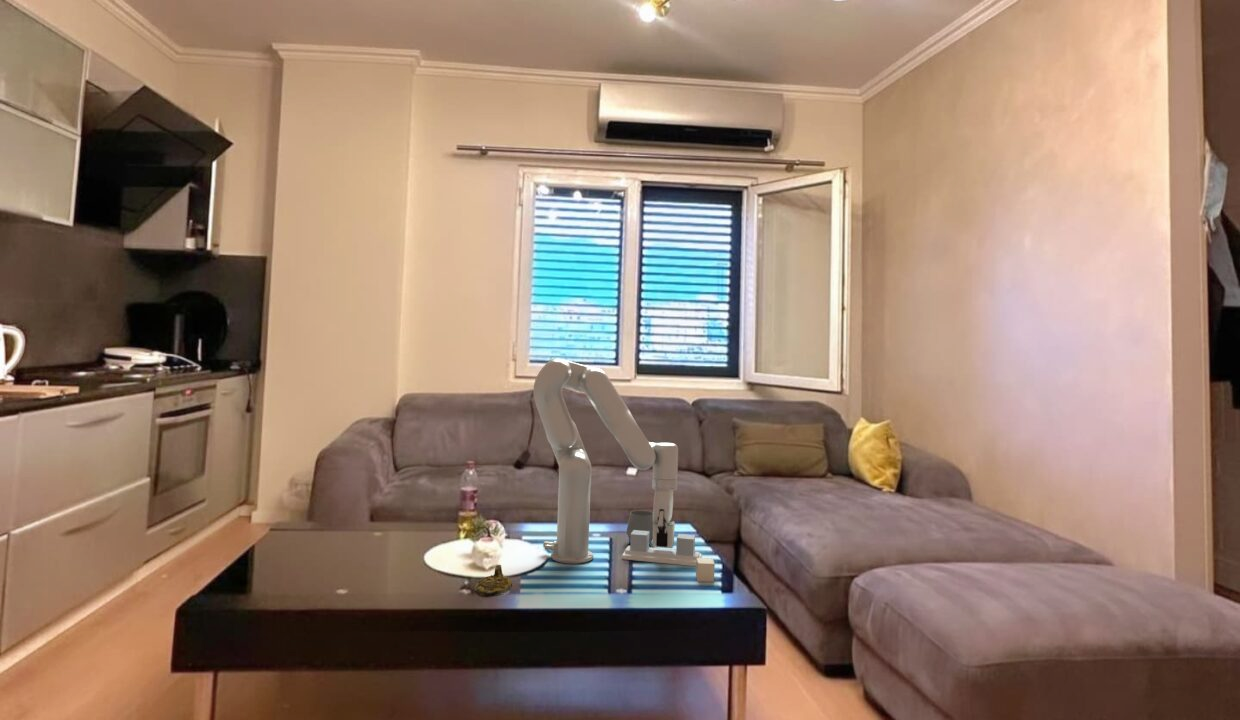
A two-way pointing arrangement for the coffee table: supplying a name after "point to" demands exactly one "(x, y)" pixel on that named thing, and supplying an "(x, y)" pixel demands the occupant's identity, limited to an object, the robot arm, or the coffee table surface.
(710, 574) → the block
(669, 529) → the module
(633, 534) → the rail board
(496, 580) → the seal
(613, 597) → the coffee table surface
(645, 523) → the cup
